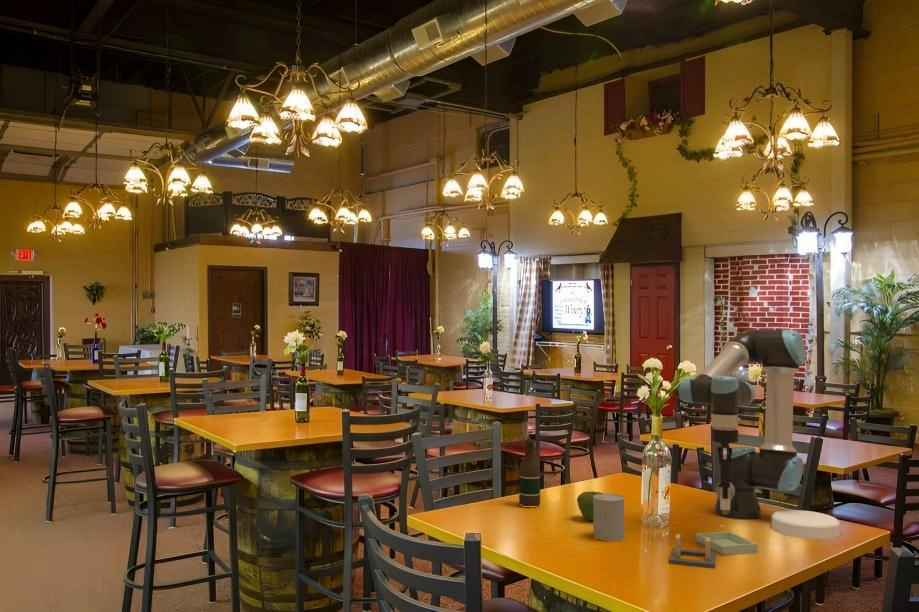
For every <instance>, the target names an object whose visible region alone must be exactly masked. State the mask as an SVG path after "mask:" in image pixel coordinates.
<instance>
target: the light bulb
mask: <svg viewBox="0 0 919 612" xmlns="http://www.w3.org/2000/svg"><path fill="white" fill-rule="evenodd" d="M720 483H721V481H720V480H719V481H718V483H717V484H716V486H715V494H716V496H717V497H718V498H719V499H720V487H718V485H720ZM729 484H730V501H731V500H732V498H733V496H734V494H735V488H734V486H733V484H732V483H730V482H729ZM721 510H722V509H721ZM721 513H722V514H724V515H727V514H729V510H722V512H721Z"/></svg>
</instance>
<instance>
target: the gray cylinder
mask: <svg viewBox="0 0 919 612" xmlns="http://www.w3.org/2000/svg"><path fill="white" fill-rule="evenodd" d="M592 522H593V523H592V525H593V528H592V529H593V531H592V532H593V535H594V537H595V538H598V539H601V540H605V541H604V542H609V541H615V542H619V541H618V540H622V539H624V540H625V538H624V537H625V497H624V496H623V495H620V494H616V493H615V494H613V493H603V494H597V495H594V496H593V521H592ZM594 537H593V538H594ZM595 538H594V539H595ZM598 539H597V540H598ZM601 540H600V541H601ZM622 541H623V540H622Z"/></svg>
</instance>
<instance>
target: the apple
mask: <svg viewBox="0 0 919 612" xmlns="http://www.w3.org/2000/svg"><path fill="white" fill-rule="evenodd" d="M597 494H604V493H603V492H600V491H594V490H592V491H584V492H581V493H580V494H578V496H577V499H576V501H577V506H578V508H579V511H580V514H581V516H582V517H583V518H584V519H586V521H588V520H590V522H593V496H594V495H597Z"/></svg>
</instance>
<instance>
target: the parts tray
mask: <svg viewBox="0 0 919 612" xmlns="http://www.w3.org/2000/svg"><path fill="white" fill-rule="evenodd" d="M706 537H710V551H711V552H716V554H719V555H721V556H730V555H732V556H733V555H745V554H756V553H759V552H758V551H759V549H758V548H759V547H758V545H759V544H758V543H757V542H754V541H752V540H750V539H747V538H745V537H743V536H740V535H739V534H737V533H734V532H731V531H730V530H728V531H714V532H702V533H700V532H699V533H695V543H696V544H699V545H701V546H703V547H705V540H706Z"/></svg>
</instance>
